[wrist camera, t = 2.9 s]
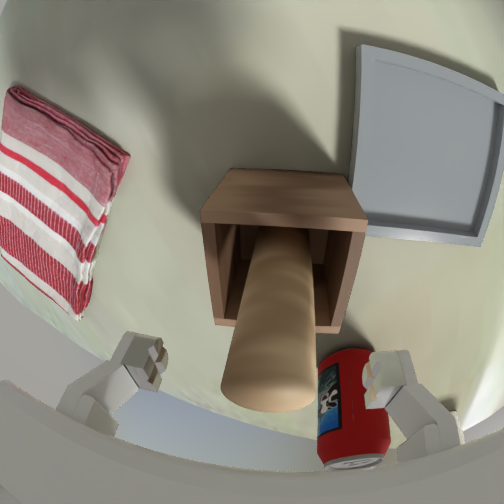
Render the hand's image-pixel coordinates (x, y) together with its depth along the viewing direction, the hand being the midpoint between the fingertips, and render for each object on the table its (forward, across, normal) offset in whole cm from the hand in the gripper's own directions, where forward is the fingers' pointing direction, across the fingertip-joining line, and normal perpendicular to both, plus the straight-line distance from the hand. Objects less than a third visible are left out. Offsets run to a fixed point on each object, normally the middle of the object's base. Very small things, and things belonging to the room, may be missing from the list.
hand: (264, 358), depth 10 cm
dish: (+11, -10, -6) cm, 16 cm away
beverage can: (+11, -8, +16) cm, 21 cm away
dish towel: (+12, +24, 0) cm, 26 cm away
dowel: (+10, 0, 0) cm, 10 cm away
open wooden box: (+11, 0, 0) cm, 11 cm away
